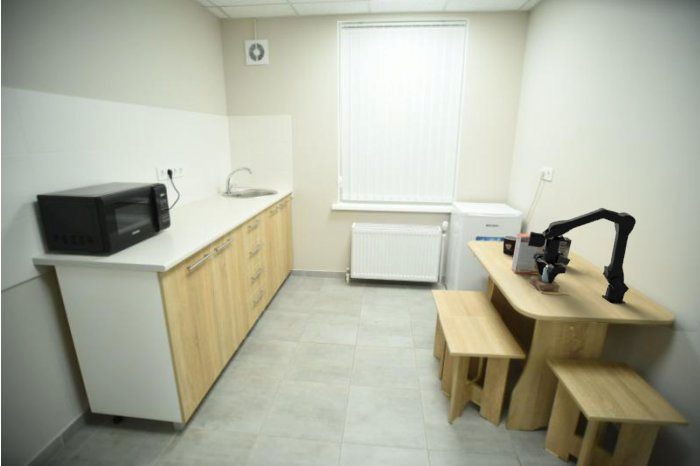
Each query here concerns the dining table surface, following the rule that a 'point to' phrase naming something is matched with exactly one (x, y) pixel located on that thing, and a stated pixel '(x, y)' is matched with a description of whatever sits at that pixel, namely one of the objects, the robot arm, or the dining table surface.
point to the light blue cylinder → (545, 275)
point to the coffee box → (565, 248)
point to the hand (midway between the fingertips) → (545, 279)
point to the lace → (553, 293)
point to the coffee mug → (509, 245)
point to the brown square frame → (544, 285)
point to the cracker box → (525, 255)
